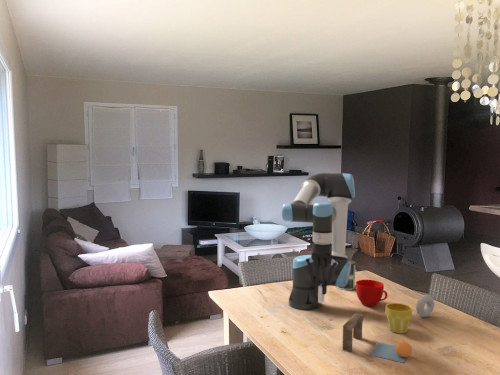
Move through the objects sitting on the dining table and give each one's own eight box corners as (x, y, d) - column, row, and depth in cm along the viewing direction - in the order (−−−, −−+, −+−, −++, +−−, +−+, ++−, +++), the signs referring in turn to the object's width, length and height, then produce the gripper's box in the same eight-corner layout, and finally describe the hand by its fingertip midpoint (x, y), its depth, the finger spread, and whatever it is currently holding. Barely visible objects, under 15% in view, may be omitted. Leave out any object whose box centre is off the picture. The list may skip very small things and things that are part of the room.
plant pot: (380, 325, 184) (381, 302, 183) (404, 324, 185) (405, 302, 184) (390, 335, 174) (391, 311, 173) (415, 335, 175) (416, 311, 174)
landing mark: (369, 354, 157) (369, 354, 157) (377, 342, 168) (377, 341, 168) (403, 363, 151) (403, 362, 151) (410, 349, 161) (410, 349, 161)
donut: (420, 320, 190) (421, 297, 189) (413, 317, 193) (414, 295, 192) (435, 316, 195) (436, 294, 194) (428, 313, 198) (429, 292, 197)
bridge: (342, 349, 161) (343, 325, 160) (354, 335, 173) (355, 313, 173) (350, 351, 160) (351, 327, 159) (362, 337, 172) (362, 314, 171)
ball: (395, 359, 155) (392, 344, 155) (398, 353, 159) (395, 338, 159) (411, 360, 152) (408, 344, 152) (414, 353, 157) (411, 338, 157)
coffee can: (347, 291, 228) (348, 265, 227) (331, 286, 236) (332, 261, 235) (358, 287, 235) (359, 261, 234) (342, 283, 243) (343, 258, 242)
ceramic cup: (376, 313, 198) (377, 291, 197) (349, 302, 212) (350, 282, 211) (395, 307, 205) (396, 287, 204) (368, 297, 219) (368, 278, 218)
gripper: (302, 242, 170) (301, 301, 172) (334, 246, 163) (333, 307, 165) (310, 239, 177) (309, 296, 178) (341, 242, 170) (340, 301, 172)
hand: (321, 301), depth 172 cm, fingers closed
